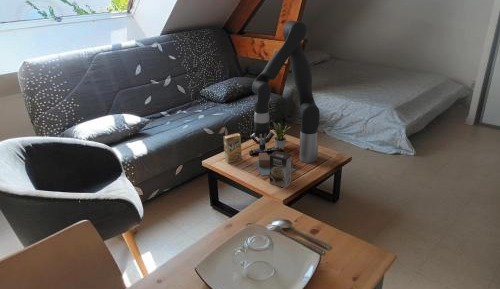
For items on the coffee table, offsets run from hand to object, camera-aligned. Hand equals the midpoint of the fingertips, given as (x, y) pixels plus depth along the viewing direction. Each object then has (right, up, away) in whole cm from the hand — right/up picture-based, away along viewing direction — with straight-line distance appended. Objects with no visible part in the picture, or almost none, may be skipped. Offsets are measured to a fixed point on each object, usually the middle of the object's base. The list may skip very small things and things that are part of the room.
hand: (262, 150), depth 189 cm
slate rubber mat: (+7, -9, +6) cm, 13 cm away
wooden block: (-2, -6, +8) cm, 10 cm away
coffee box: (+9, -17, -9) cm, 21 cm away
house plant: (+10, +1, +27) cm, 29 cm away
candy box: (-16, -6, +14) cm, 22 cm away
